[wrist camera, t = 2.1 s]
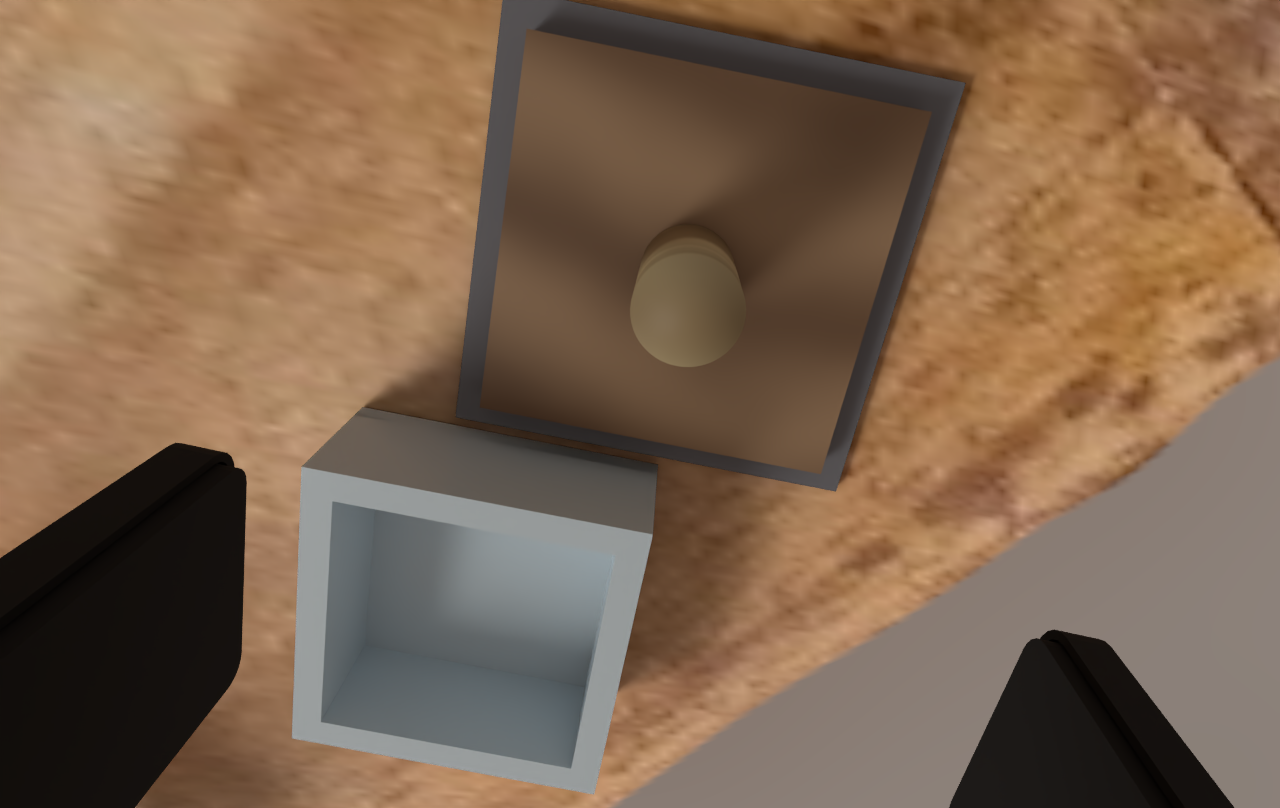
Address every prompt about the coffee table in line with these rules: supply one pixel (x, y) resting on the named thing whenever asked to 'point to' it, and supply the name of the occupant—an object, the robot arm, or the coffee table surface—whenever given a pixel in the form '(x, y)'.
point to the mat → (546, 9)
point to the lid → (690, 250)
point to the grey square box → (467, 597)
